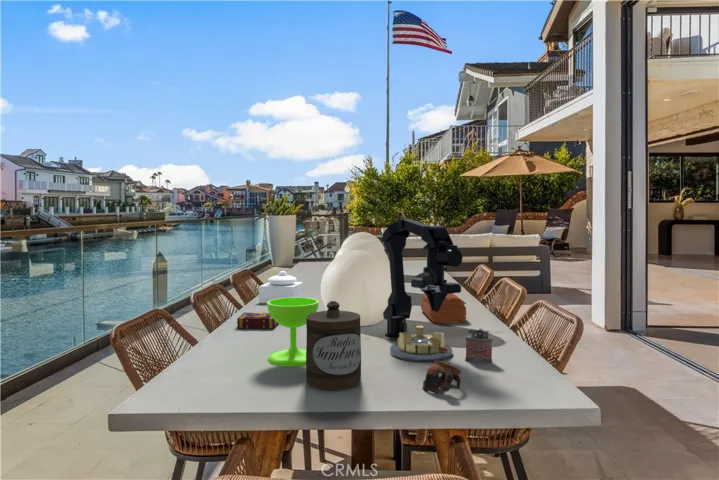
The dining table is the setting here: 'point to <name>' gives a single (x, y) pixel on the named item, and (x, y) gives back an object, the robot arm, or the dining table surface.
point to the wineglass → (291, 326)
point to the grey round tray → (420, 357)
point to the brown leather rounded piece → (441, 377)
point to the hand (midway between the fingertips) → (435, 311)
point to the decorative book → (256, 321)
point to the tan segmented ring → (421, 348)
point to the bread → (445, 310)
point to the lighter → (478, 347)
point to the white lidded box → (280, 288)
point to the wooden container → (333, 349)
